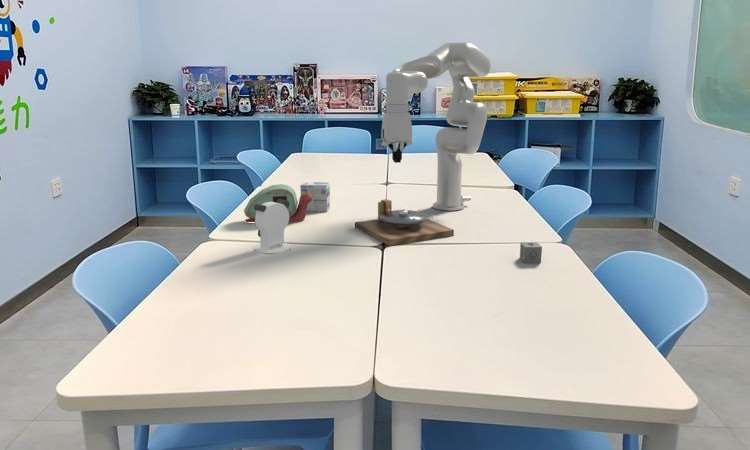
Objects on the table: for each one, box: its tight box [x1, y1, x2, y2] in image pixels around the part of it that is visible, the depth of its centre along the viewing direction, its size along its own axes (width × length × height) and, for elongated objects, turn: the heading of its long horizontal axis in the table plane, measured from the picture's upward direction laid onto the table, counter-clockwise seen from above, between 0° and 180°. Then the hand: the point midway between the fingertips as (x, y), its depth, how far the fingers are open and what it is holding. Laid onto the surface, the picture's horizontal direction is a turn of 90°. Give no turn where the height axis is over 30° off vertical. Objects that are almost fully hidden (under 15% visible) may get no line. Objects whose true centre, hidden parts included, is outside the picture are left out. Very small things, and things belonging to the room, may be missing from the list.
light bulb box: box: [299, 181, 331, 213], centre depth 254 cm, size 11×7×11 cm, turn 84°
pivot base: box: [354, 201, 455, 247], centre depth 223 cm, size 25×25×9 cm
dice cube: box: [519, 241, 543, 264], centre depth 193 cm, size 5×5×5 cm
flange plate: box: [380, 198, 428, 225], centre depth 223 cm, size 18×16×5 cm
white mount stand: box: [254, 199, 292, 254], centre depth 204 cm, size 12×11×15 cm
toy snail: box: [243, 183, 312, 223], centre depth 237 cm, size 25×8×14 cm, turn 97°
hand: (397, 162), depth 227 cm, fingers closed
